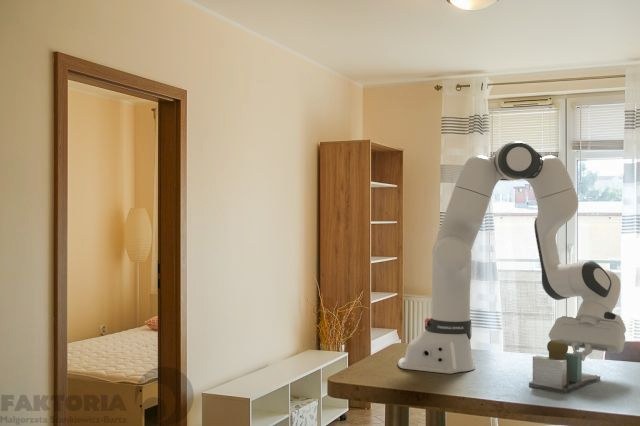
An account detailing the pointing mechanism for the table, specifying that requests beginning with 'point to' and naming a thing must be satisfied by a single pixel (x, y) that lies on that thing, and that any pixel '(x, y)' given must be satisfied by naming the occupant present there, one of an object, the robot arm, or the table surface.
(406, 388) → the table surface
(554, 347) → the cork
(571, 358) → the block
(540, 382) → the vise base
